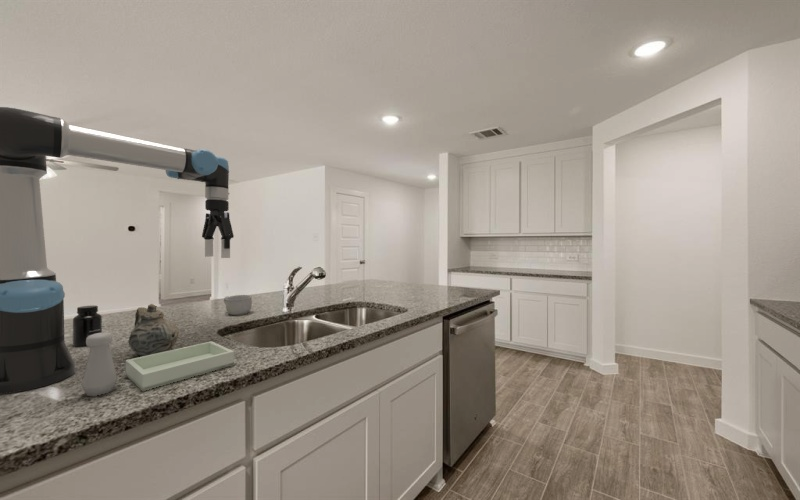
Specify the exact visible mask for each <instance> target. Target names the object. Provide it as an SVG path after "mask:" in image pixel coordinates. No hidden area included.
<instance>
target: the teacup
mask: <svg viewBox="0 0 800 500" xmlns="http://www.w3.org/2000/svg"><path fill="white" fill-rule="evenodd" d="M252 297H253V296H252V295H250V294H235V295H231V296H229V295H227V296H225V297H224V298H223V303H224V305H225V308H226V309H225V310H226V312H227V313H228V314H230V315H231V316H235V317H236V316H243V315H246V314H248V313H249V312H250V311H251V309H252V302H253V301H252Z"/></svg>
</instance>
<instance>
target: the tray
mask: <svg viewBox="0 0 800 500" xmlns="http://www.w3.org/2000/svg"><path fill="white" fill-rule="evenodd" d="M233 366H235V351H234V350H233V349H230V348H228V347H225V346H223V345H220V344H218V343H217V342H214V341H212V340H211V341H206V342H202V343H197V344H192V345H188V346H184V347H180V348H174V349H170V350H169V351H165V352H160V353H156V354H151V355H147V356H140V357H139V356H138V357H134V358H129V359H126V360H125V377H127V378H128V379H129V380H130V381H132V383H133V384H135V386H137V388H138V389H140V391H142V392H146V390H147V391H150V390H153V389H152V388H154V389H157V388H160V387H159V386H161V387H164V386H167V385H166V384H168V385H171V384H174V383H173V382H175V383H177V381H178V382H182V381H184V379H185V380H189V379H191V377H192V378H195V377H199V376H201V375H206V374H209V373H212V371H213V372H216V371H219V370H222V368H223V369H225V368H226V369H227V368H229V367H230V368H231V367H233ZM215 370H216V371H215ZM205 373H206V374H205ZM198 375H199V376H198ZM194 376H195V377H194ZM170 383H171V384H170ZM163 385H164V386H163ZM156 387H157V388H156ZM149 389H150V390H149Z"/></svg>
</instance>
